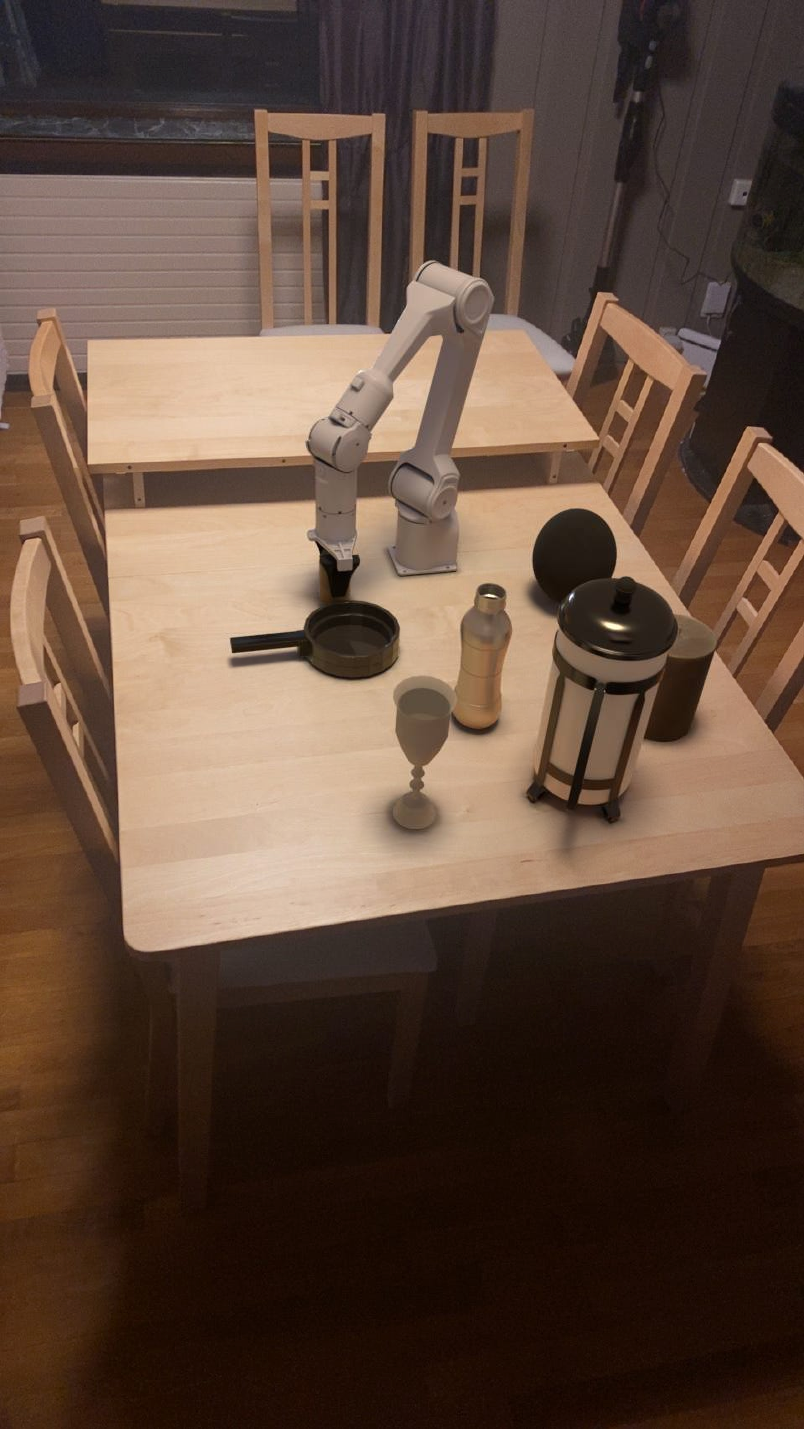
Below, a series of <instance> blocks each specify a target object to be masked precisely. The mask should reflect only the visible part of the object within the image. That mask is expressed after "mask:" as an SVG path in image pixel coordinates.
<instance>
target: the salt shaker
mask: <svg viewBox="0 0 804 1429" xmlns="http://www.w3.org/2000/svg"><path fill="white" fill-rule="evenodd" d="M328 554H330V553H329V552H328V551H327V550H326V549H324V550H323V551H322V552H321V555H328ZM318 599H319V600H318V601H319V602H320V603H321V604H322V605H325V604H328V603H331V602H335V601H344V600H351V582H350V583H349V587H348V590H347V593H346V596H345V597H334V598H333V597H332V596H331V593H330V590H329V585H328V578H327V574H326V571H325V570H324V568H323V566H322V564H321V561H320V558H318Z"/></svg>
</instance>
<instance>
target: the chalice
mask: <svg viewBox="0 0 804 1429" xmlns="http://www.w3.org/2000/svg"><path fill="white" fill-rule="evenodd" d="M392 699H393V702H394V705H395V707H396V716H395V731H394V732H395V735H396V738H397V741H398V744H399V746H400V749H401V751H402V753H403V754H404V756H405V758H406V760H407V761H408V762H409V763H410V764H411V765H412V766H413V768H412V769H411V771H410V774H411V776H412V779H411V780H409V783H408V784H409V787H410V788H411V791H409V792H406V793H404V794H402V795H401V796H400V799H399V800H398V801H397V803H395V805H394V807H393V809H392V816H393V819H394V821H396V823H397V824H398V825H400V826H401V827H402V828H406V829H409V830H422V829H425V828H427V827H430V826H431V825H432V824H433V822H434V821H435V819H436V811H435V808H434V806H433V804H432V802H431V799H430V798H429V797H428V796H427V795H426V794H425V793H424V792H422V791H421V790H422V789H424V788H425V782H424V781H423V780H422V778H423V777H425V775H426V773H425V770H424V768H423V767H425V766H428V765H429V764H431V762H432V761H433V760H434V759H435V757H436V756H437V755H438V754H439V753H440V752H441V750H442V748H443V746H444V745H445V743H446V741H447V740H448V737H449V732H450V721H451V713H453V709H454V707H455V705H456V699H457V697H456V694H455V692H454V688H452V686H451V685H450V684H449V683H447V682H446V681H444V680H443V679H441V678H437V677H435V676H431V675H415V676H414V675H413V676H410V677H407V678H405V679H403V680H402V681H400V682H399V683H398V684H397V685H396V686H395V688H394V689H393V693H392Z"/></svg>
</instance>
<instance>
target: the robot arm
mask: <svg viewBox="0 0 804 1429" xmlns="http://www.w3.org/2000/svg"><path fill="white" fill-rule="evenodd" d="M405 292H406V293H405V296H406V297H405V299H406V305H405V308H404V310H403V311H402V313H401V315H400V317H399V319H398V320H397V322H396V324H395V325H394V328H393V329H392V331H391V333H390V335H389V336H388V337H387V340H386V342H385V343H384V345H383V347H382V349H381V350H380V352H379V354H378V356H377V357H376V359H375V361H374V363H373V365H372V367H370V368H366V369H361V370H359V371H357V373H356V375H355V376H354V377H353V379H351V382H350V383H349V385H348V386H347V388H346V389H345V391H344V392H343V394H342V395H341V397H340V398H339V399H338V402H337V403H336V404H335V406H334V408H332V410H331V412H330V413H329V415H328V416H325V417H322V418H320V419H318V420H317V421H316V422H315V423H314V424H313V425H312V426H311V428H310V430H309V433H308V437H307V439H306V440H305V441H304V442H305V448H306V450H307V452H308V453H309V455H310V456H311V458H312V467H313V468H314V469H315V470H314V473H315V474H314V475H315V476H314V479H315V480H314V481H315V482H314V483H315V484H314V485H315V486H314V489H315V491H314V492H315V493H314V494H315V495H314V496H315V501H314V502H315V527H314V529H309V530H307V531H306V536H307V537H306V538H307V539H308V541H310V542H314V543H315V545H316V547H317V549H318V552H319V556H318V559H320V561H321V564H322V566H323V568H324V570H325V571H326V574H327V578H328V585H329V590H330V593H331V596H332V597H333V598H334V597H345V596H346V593H347V590H348V587H349V583H350V584H351V580H352V577H353V575H354V573H355V572H356V570H357V569H358V568H359V567H360V564H361V558H360V555H359V553H358V554H354V549H355V546H356V543H357V539H358V530H357V498H358V496H357V495H358V493H357V492H358V467H359V466H361V464H362V463H363V462H364V460H365V459H366V457H367V455H368V451H369V445H370V442H371V440H372V436H373V434H372V433H371V432H372V431H373V429H374V428H375V426H376V425H377V424H378V422H379V421H380V419H381V418H382V417H383V415H384V413H385V411H386V410H387V409H388V407H389V405H390V404H391V402H392V401H393V400H394V399H395V398H394V397H395V395H394V394H395V393H394V382H395V381H396V380H397V378H399V376H400V375H401V374H402V372H403V371H404V370H405V369H406V367H407V366H408V365H409V364H410V362H411V361H412V360H413V359H414V357H415V356H416V355H417V353H418V352H419V351H420V349H421V348H422V347H423V346H424V344H425V343H427V341H428V339H429V338H430V337H438V336H441V338H442V342H441V346H440V349H439V354H438V357H437V360H436V364H435V368H434V371H433V376H432V378H431V382H430V387H429V391H428V394H427V398H426V402H425V404H424V405H425V406H424V410H423V414H422V417H421V421H420V424H419V429H418V432H417V436H416V440H415V443H414V446H413V447H411V448H408V449H406V450H404V451H402V452H400V453H399V456H398V461H397V463H396V465H395V466H394V468H393V469H392V471H391V473H390V476H389V479H388V483H387V490H388V493H389V495H390V497H391V498H393V499H394V507H395V508H396V509H397V516H396V518H397V519H396V537H395V545H392V546H388V547H387V552H388V554H389V556H390V558H391V560H392V562H393V566H394V567H395V569H396V572H397V575H399V576H402V577H403V576H411V575H425V574H435V573H445V572H454V571H457V570H458V566H457V557H458V547H459V539H460V523H459V522H460V521H459V517H458V513H457V510H456V509H455V507H456V505H457V502H458V498H459V497H458V496H459V490H458V486H459V481H460V477H461V474H460V472H459V470H458V468H457V466H456V464H455V462H454V460H453V458H452V456H451V452H452V449H453V446H454V442H455V439H456V435H457V432H458V428H459V424H460V421H461V419H462V418H461V417H462V414H463V411H464V407H465V403H466V399H467V397H468V393H469V389H470V386H471V382H472V380H473V375H474V372H475V368H476V365H477V361H478V358H479V354H480V351H481V348H482V344H483V340H484V337H485V334H486V331H487V328H488V324H489V320H490V316H491V312H492V309H493V307H494V303H495V296H494V294H493V292H492V289H491V287H490V286H489V284H488V282H487V281H486V280H485V279H483V278H481V277H474V276H472V275H470V274H467V273H464V272H462V271H460V270H457V269H454V268H452V267H449V266H447V265H444V264H442V263H441V262H439V261H438V260H437V261H436V260H428V261H426V262H424V263H423V264H422V265H421V266H420V267H418V269H417V270H416V272H415V274H414V276H413V278H412V281H411V282H410V283H409V284H408V286H407V287H406V291H405ZM324 549H326V550H327V551H328V552H329V553H330V554H328V555H321V552H322V551H323V550H324Z"/></svg>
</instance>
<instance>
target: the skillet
mask: <svg viewBox="0 0 804 1429" xmlns="http://www.w3.org/2000/svg"><path fill="white" fill-rule="evenodd" d="M303 630H304V633H305V637H306V640H307V657H306V658H307V659H308V660H309V662H310V663H311V664H312V666H314V667H316V668H318V669H319V670H321V671H323V672H324V673H327V674H330V675H334V676H337V677H344V678H345V677H346V678H361V677H362V678H363V677H370V676H372V675H376V674H378V673H382V672H383V671H385V670H386V669H387V668H389V667H390V666H392V665H393V664H394V663H395V661H396V660H397V658H398V656H399V649H400V636H401V626H400V624H399V621H398V619H397V618H396V617H395V615H394V614H392V612H391V611H389V610H388V609H386V608H384V607H383V606H381V605H379V604H376V603H372V602H370V601H367V600H356V599H350V600H344V601H335V602H331V603H328V604H325V605H324V604H322V605H321V606H318V607H317V608H316V609H314V610H312V611H311V612H310V613H309V615H308V616H307V617H306V618H305V621H304V625H303Z"/></svg>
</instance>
